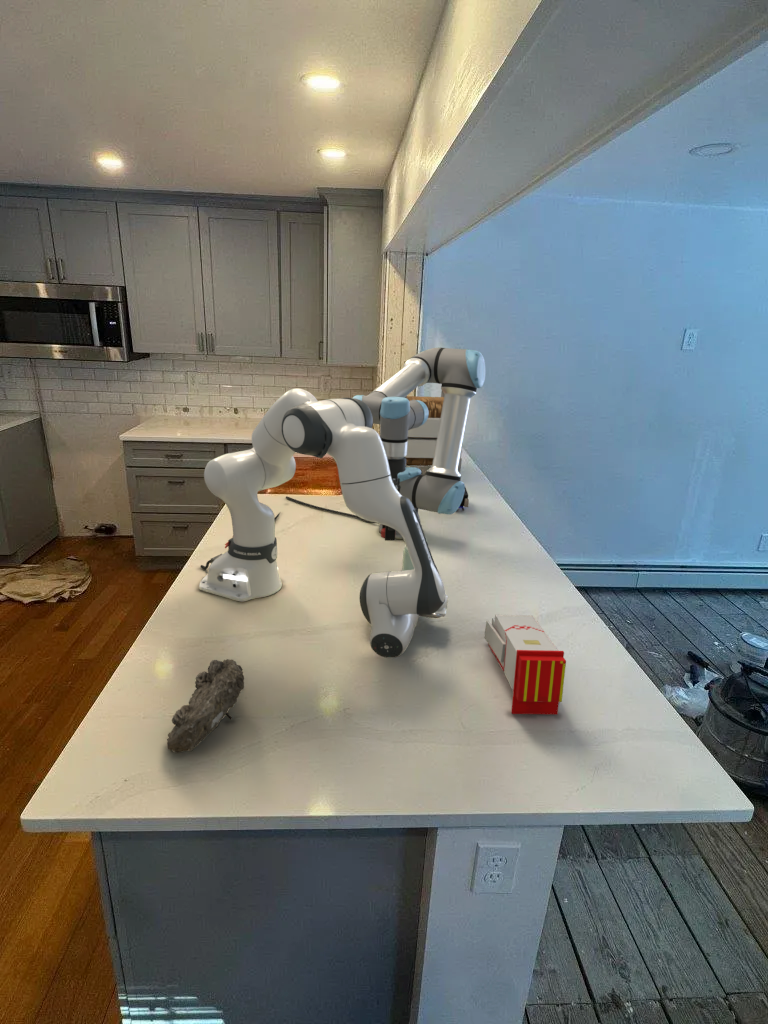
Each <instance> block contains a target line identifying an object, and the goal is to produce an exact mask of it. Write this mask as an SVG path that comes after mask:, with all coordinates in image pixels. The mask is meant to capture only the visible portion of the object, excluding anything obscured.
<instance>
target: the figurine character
mask: <svg viewBox="0 0 768 1024" xmlns="http://www.w3.org/2000/svg"><path fill="white" fill-rule="evenodd" d="M464 489H465V492H464V496H463V499H462V502H461V504H460V506H459V508H458V509H461V511H462V512H464V511H465V508H469V505H470V500H469V492H468V490H467V488H466V486H465V488H464Z"/></svg>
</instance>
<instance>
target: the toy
mask: <svg viewBox="0 0 768 1024" xmlns="http://www.w3.org/2000/svg"><path fill="white" fill-rule="evenodd" d="M494 615H495V616H494V617H491V622H490V620H485V621H486V622H485V630H484V640H485V641H486V642H487V646H488V647H489V649H490V651H491V652H492V654H493V656H494V657H495V659H496V661H497V663H498V665H499V667H500V668H501V670H502V671H503V674H504V676H505V678H506V680H507V682H508V684H509V686H510V689H511V690H512V701H511V712H510V713H511V714H512V715H556V716H558V715H559V714H558V713H559V705H560V703H562V702H563V695H564V694H563V693H564V686H565V685H564V683H565V677H566V676H565V675H566V667H567V666H566V665H567V660H566V658H564V656H565V651H564V650H559V649H558V648H557V646H556V645H555V644H554V642H553V641H552V640H551V638H550V637H549V636H548V634H547V633H546V631H544V629H543V628H542V626H541V625H540V623H539V622H538V620H536V618H535V617H534V615H531V614H530V615H527V614H526V615H523V614H519V615H518V614H494Z"/></svg>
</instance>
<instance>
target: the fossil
mask: <svg viewBox="0 0 768 1024" xmlns="http://www.w3.org/2000/svg"><path fill="white" fill-rule="evenodd" d="M243 670H244V669H243V667H242V665H240V664H237V662H236V661H235V660H234V659H232V658H231V659H227V658H226V659H224V660H223V661H222V660H217V659H212V660H211V661H210V663H209V665H208V666H207V671H201V672H199V673H198V674H197V675H196V676H195V680H194V684H195V685H194V687H195V689H194V690H193V693H192V694H191V697H190V698H189V700H188V704H184V705H182V706H181V707H180V709H177V710H176V711H175V713H174V715H173V716H172V718H171V723H172V724H173V727H172V730H171V731H170V732H168V734H167V738H166V741H167V742H166V745H167V749H168V750H169V751H173V752H174V753H176V754H178V753H182V752H188V751H189V752H192V751H193V750H195V748H196V747H197V746H199V744H200V743H201V742H203V741H204V740H205V739H206V738H207V737H208V736H209V735H210V734H211V733H212V732H214V730H215V729H217V727H218V726H219V724H220V722H221V721H222V720H223V719H224V718H225V716H226V717H227V719H229V720H233V717H232V715H230V714H229V710H230V709H231V708H234V706H235V704H236V703H237V702H238V699H239V697H240V695H241V693H242V691H243V690H245V689H244V688H245V675H244V671H243Z"/></svg>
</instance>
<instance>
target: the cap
mask: <svg viewBox="0 0 768 1024" xmlns="http://www.w3.org/2000/svg"><path fill="white" fill-rule="evenodd" d="M395 533H396V532H395ZM380 537H381V538H382V539H385V528H383V529H381V534H380Z"/></svg>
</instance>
